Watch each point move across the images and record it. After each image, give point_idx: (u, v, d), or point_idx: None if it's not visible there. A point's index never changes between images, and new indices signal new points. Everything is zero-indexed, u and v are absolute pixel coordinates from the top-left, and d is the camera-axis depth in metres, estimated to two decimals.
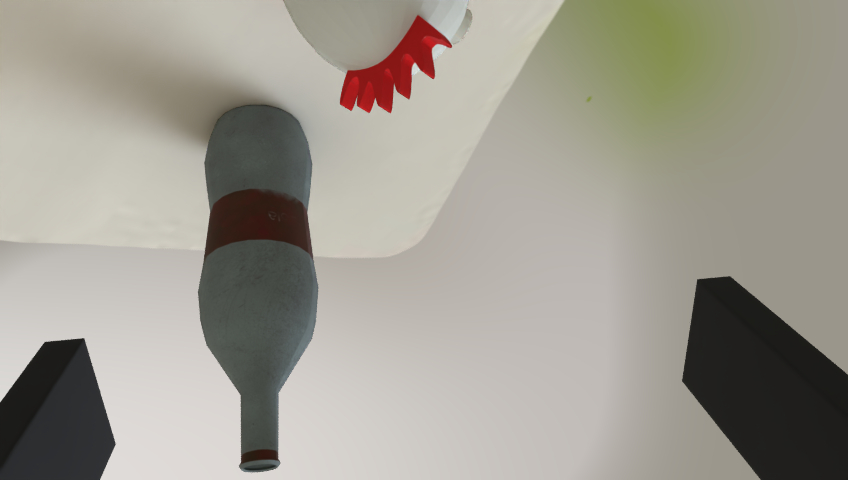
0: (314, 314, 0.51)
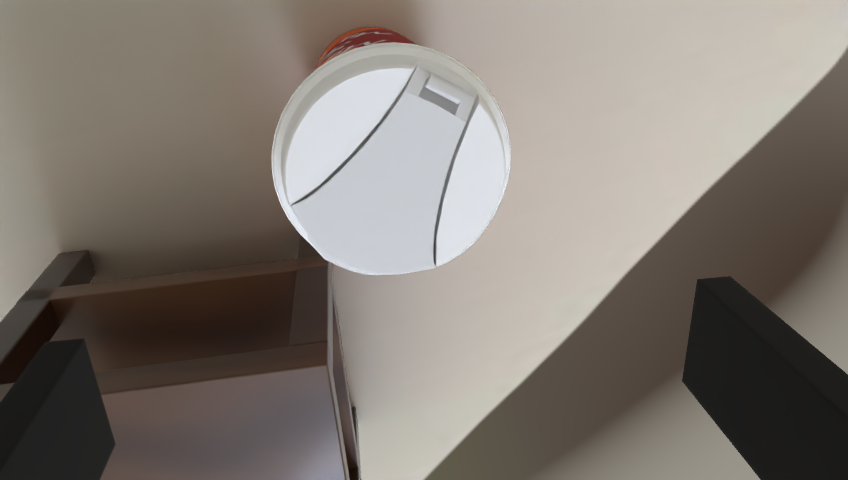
0: None
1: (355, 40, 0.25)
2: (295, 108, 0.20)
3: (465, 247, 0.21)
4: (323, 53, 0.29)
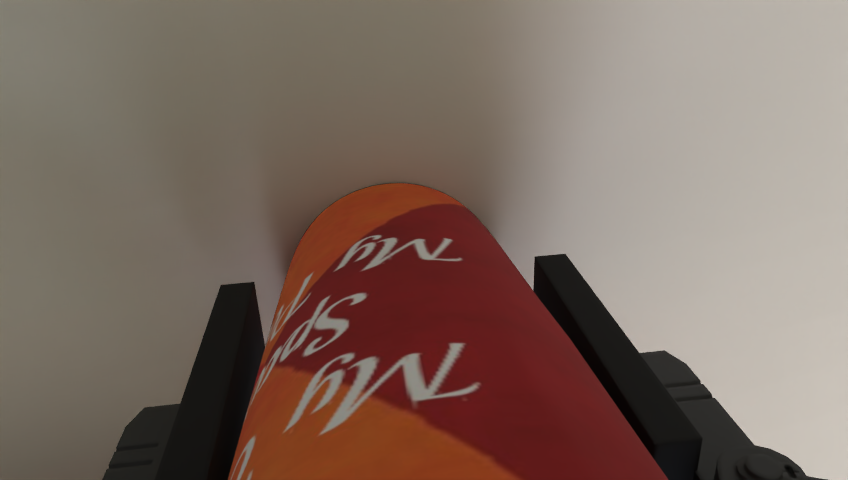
0: None
1: (376, 304, 0.10)
2: None
3: None
4: (304, 258, 0.14)
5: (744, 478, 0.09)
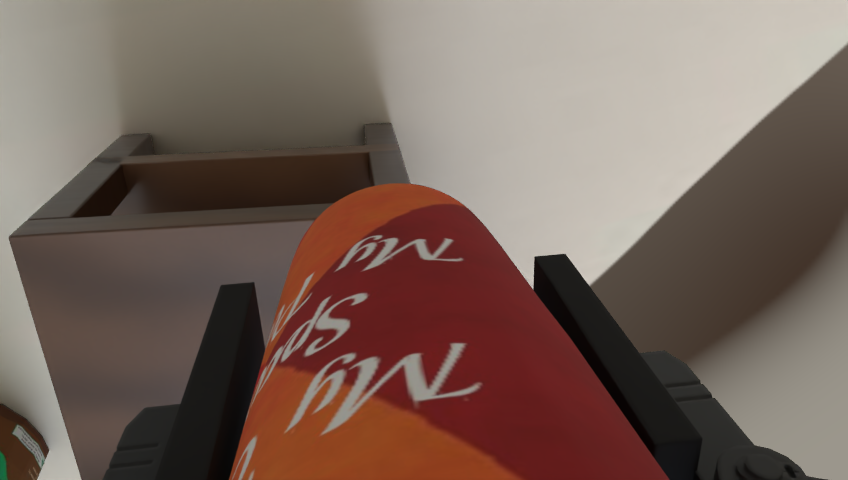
0: None
1: (377, 305, 0.10)
2: None
3: None
4: (305, 258, 0.14)
5: (744, 478, 0.09)
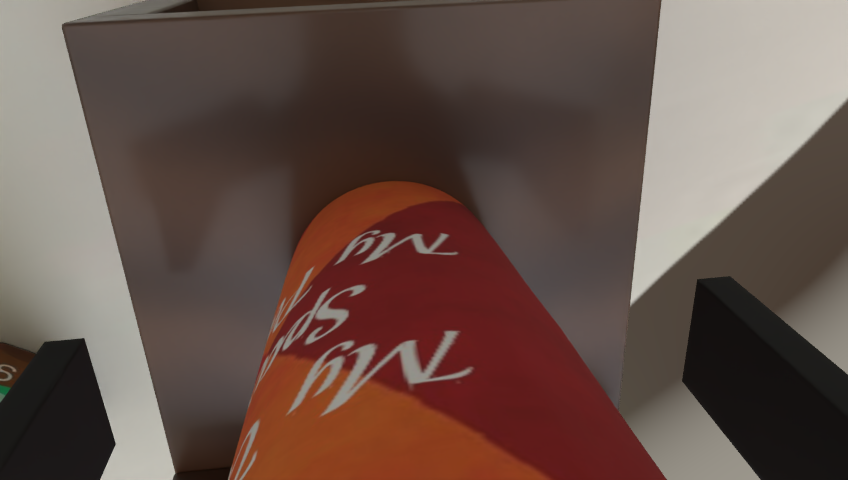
0: None
1: (375, 295, 0.11)
2: None
3: None
4: (305, 253, 0.14)
5: None
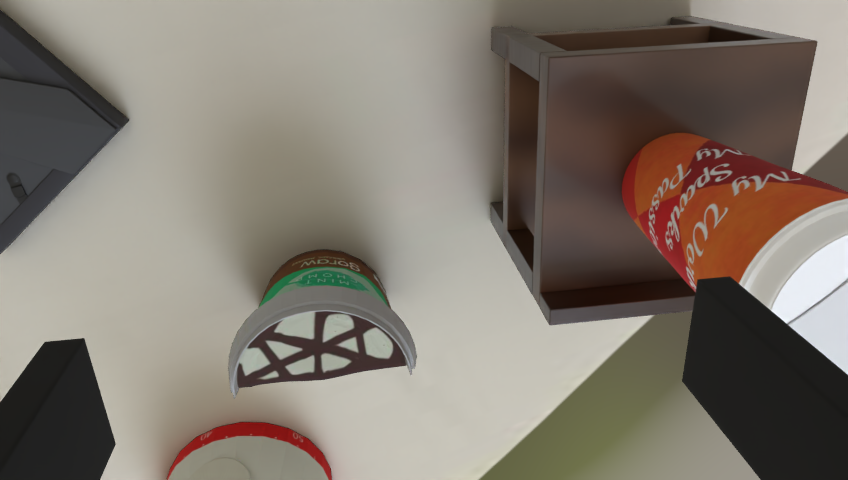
0: None
1: (737, 165, 0.28)
2: (775, 250, 0.22)
3: None
4: (661, 162, 0.32)
5: None
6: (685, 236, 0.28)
